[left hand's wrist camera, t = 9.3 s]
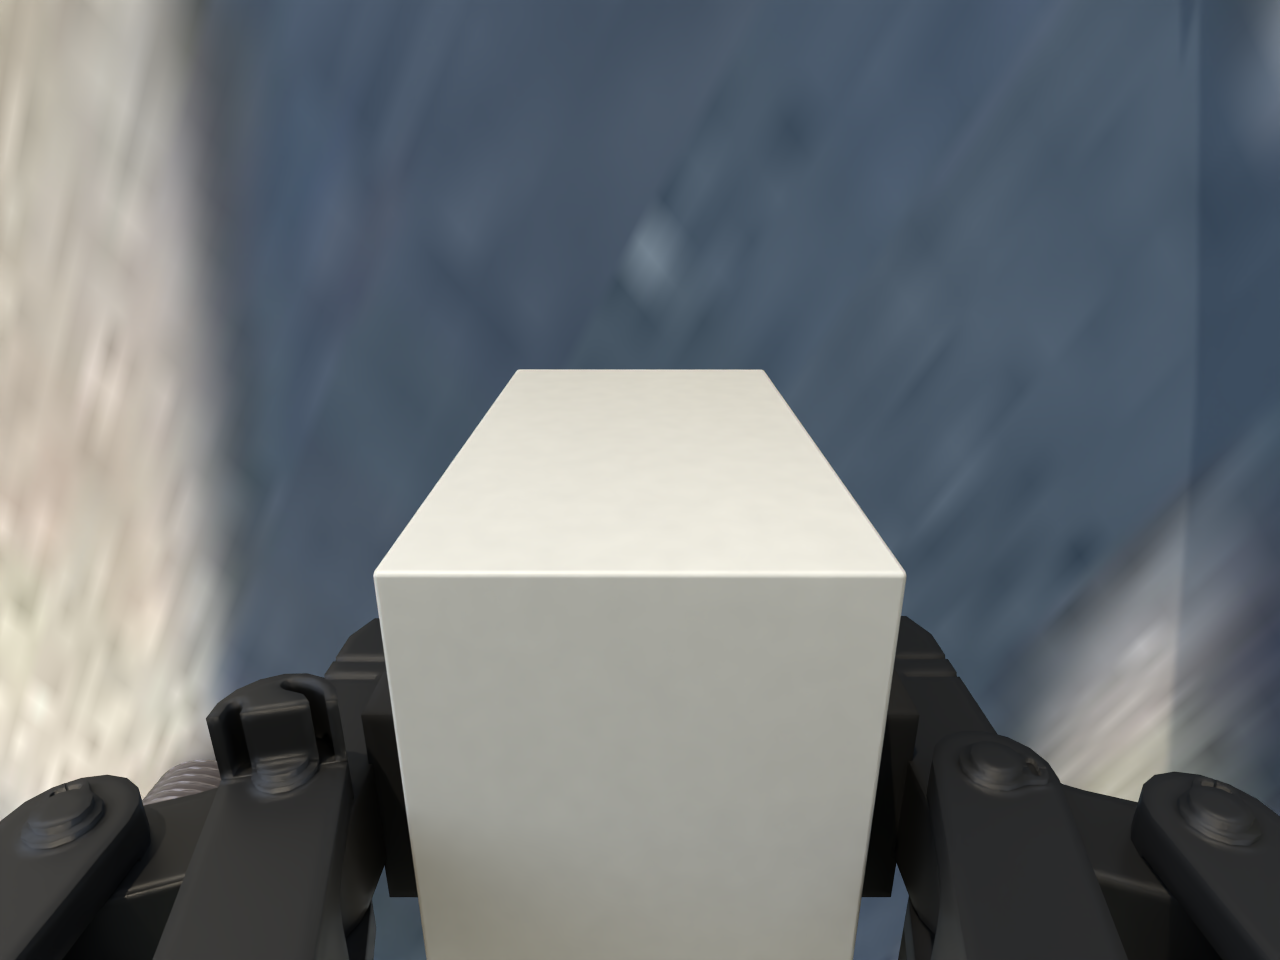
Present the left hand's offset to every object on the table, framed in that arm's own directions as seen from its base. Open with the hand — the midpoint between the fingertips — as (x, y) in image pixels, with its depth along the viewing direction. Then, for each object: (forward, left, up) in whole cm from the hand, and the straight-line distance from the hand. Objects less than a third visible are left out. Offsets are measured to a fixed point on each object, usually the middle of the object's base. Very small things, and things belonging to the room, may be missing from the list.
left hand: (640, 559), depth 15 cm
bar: (+12, +7, -1) cm, 14 cm away
